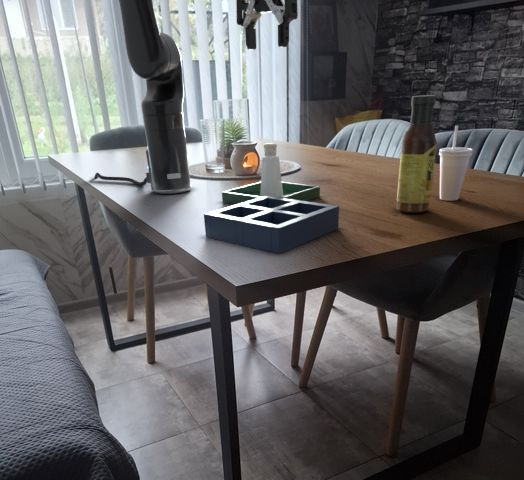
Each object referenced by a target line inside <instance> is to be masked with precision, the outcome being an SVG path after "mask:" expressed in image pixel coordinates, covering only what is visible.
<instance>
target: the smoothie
mask: <svg viewBox="0 0 524 480" xmlns="http://www.w3.org/2000/svg"><path fill="white" fill-rule="evenodd" d="M458 132H459V125H455V126H454V133H453V139H452V146H449V147H441V148H440V149H439V151H438V155H439V199H440V200H441V201H448V202H451V201H453V202H454V201H458V200H459V198H460V194H461V191H462V188H463V183H464V180H465V177H466V173H467V170H468V166H469V162H470V158H471V156H473V151H474V149H473V148H471V147H461V146H456V145H457V138H458Z"/></svg>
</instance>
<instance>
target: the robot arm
mask: <svg viewBox="0 0 524 480" xmlns="http://www.w3.org/2000/svg"><path fill="white" fill-rule="evenodd" d="M235 2H236V3H235V5H236V25H238V26H241V27H243V28H244V36H245V37H244V38H245V47H246V49H247V50H249V51H255V50H256V49H257V28H256V25H257V22H258V20H259V19H260V18H261V17H262V14H267V13H271V14H272V15H274V17H275V19H276V20H277V22H278V24H277V46H278V48H287V47H288V45H289V41H290V24H291V22H293V21H295V20H297V19H298V16H299V15H298V14H299V12H298V0H236V1H235ZM118 3H119V9H120V15H121V21H122V28H123V35H124V44H125V48H126V49H125V50H126V54H127V55H126V56H127V59H128V63H129V65H130V67H131V69H132V71H133V72H134V74H135V75H136V76H138V78H140V79H142V80H144V81H145V82H146V84H145V85H146V93H145V96H144V98H143V99H142V101H141V105H140V107H141V114H142V120H143V127H144V133H145V140H146V147H147V149H146V150H145V154H146V162H147V165H146V168H147V169H148V171H147V172H145V175H146V176H145V178H144V179H143V180H142V181H138V180H137V179H134V178H131V177H125V176H108V175H107V176H106V175H102V174H101V173H100V172H96V173H95V174H94V179H98V178H99V179H101V180H103V181H115V182H116V181H118V182H119V181H120V182H130V183H133V184H134V185H136V186H140V187H143V186H146V185H147V184H150V188H151V189H150V190H151V191H153V193H155V194H159V195H174V194H175V195H176V194H182V193H185V192H189V191H191V190H192V183H191V177H190V176H191V175H190V166H189V165H190V164H189V155H188V147H187V140H186V139H187V138H186V131H185V122H184V111H183V103H184V98H185V90H184V87H185V86H184V73H183V63H182V55H181V52H180V49H179V46H178V44H177V42H176V41H175V39H174V38H173V37H172V36H170V34H169V35H168V34H167V33H164V32H160V30H159V25H158V21H157V18H156V13H155V9H154V3H153V0H118ZM108 271H109V275H110V279H111V280H110V281H111V283H112V284H111V285H112V289H113V294H114V295H117V294H118V291H117V286H116V280H115V275H114V271H113V268H112V267H110V266H108Z"/></svg>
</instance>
